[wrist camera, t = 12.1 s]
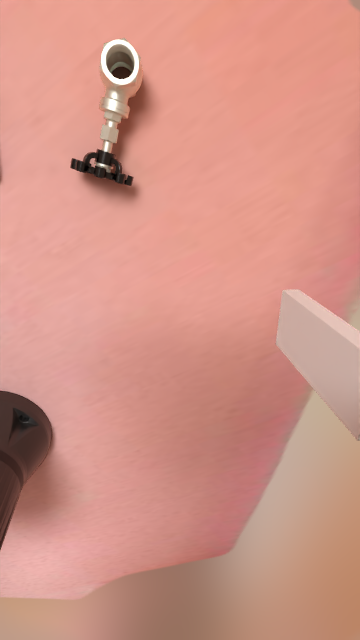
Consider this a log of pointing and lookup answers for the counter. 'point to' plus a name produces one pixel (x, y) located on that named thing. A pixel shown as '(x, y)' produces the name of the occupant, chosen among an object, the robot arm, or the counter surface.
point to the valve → (113, 108)
